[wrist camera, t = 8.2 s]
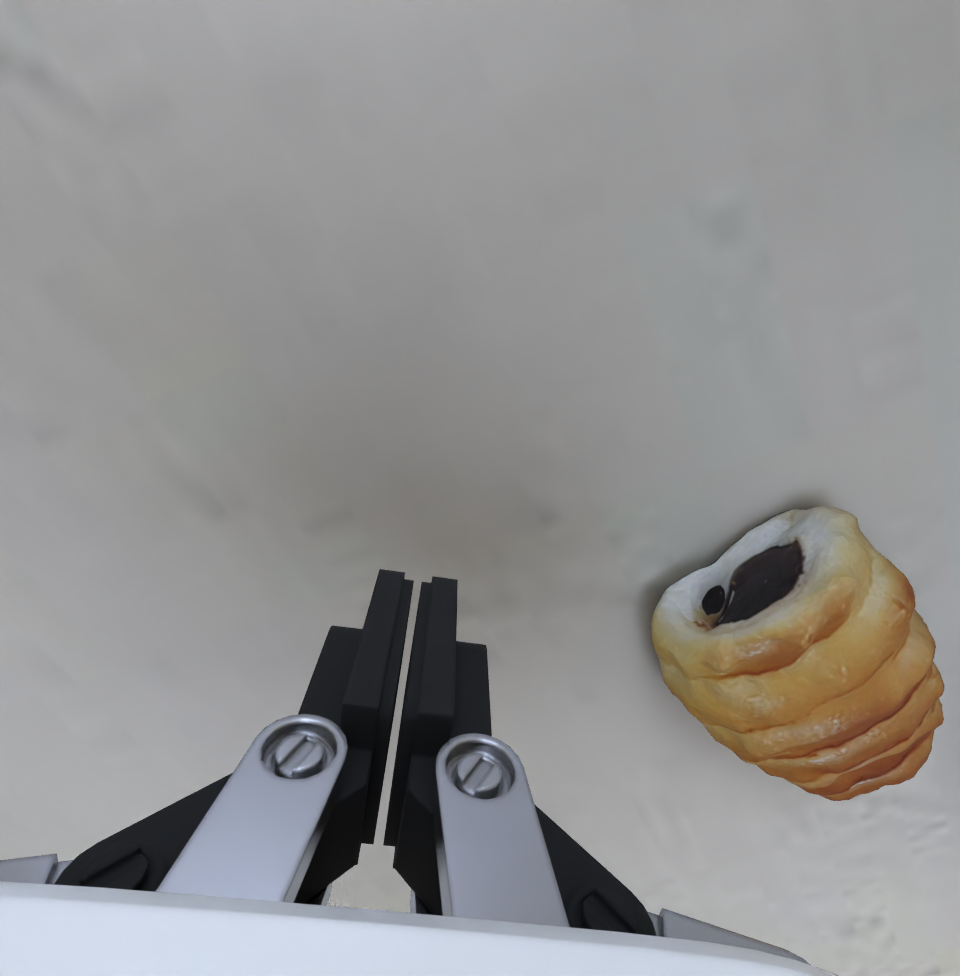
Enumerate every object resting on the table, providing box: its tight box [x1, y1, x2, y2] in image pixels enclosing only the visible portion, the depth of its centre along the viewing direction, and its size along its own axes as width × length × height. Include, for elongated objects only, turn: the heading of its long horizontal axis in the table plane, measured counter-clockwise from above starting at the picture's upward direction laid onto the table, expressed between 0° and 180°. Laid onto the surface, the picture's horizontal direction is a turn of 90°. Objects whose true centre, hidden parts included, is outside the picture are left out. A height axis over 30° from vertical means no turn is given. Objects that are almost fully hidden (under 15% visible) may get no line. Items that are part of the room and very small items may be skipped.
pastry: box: [651, 507, 944, 801], centre depth 16 cm, size 9×7×4 cm
